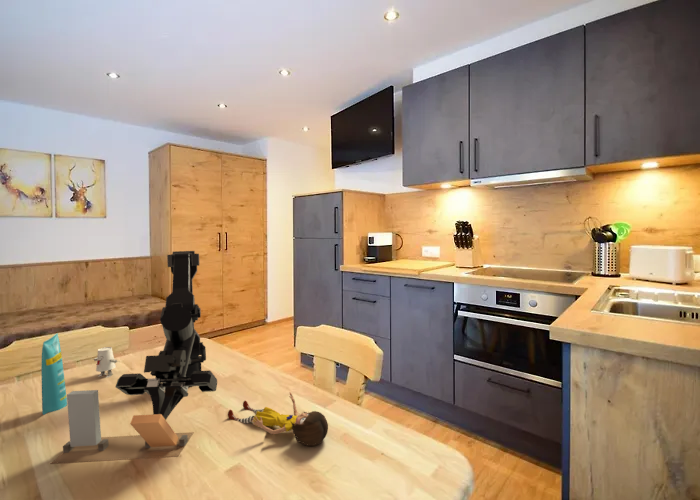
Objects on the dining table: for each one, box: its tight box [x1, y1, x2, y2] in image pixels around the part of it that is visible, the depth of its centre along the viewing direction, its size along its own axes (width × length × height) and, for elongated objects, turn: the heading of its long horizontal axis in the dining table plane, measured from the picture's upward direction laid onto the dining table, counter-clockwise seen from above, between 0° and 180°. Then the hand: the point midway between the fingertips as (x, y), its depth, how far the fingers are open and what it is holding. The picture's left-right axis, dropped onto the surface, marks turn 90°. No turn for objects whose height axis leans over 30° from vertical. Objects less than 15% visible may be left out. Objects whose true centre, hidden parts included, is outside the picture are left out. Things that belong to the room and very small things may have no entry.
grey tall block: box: [66, 389, 102, 447], centre depth 70 cm, size 2×5×11 cm, turn 94°
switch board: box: [50, 431, 195, 465], centre depth 71 cm, size 8×24×2 cm, turn 94°
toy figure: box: [90, 346, 119, 378], centre depth 109 cm, size 12×6×8 cm, turn 75°
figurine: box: [227, 392, 329, 447], centre depth 78 cm, size 13×8×25 cm
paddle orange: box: [129, 414, 178, 447], centre depth 67 cm, size 2×5×11 cm
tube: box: [40, 332, 68, 416], centre depth 87 cm, size 7×5×19 cm, turn 26°
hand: (157, 427), depth 68 cm, fingers closed, pressing on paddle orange
